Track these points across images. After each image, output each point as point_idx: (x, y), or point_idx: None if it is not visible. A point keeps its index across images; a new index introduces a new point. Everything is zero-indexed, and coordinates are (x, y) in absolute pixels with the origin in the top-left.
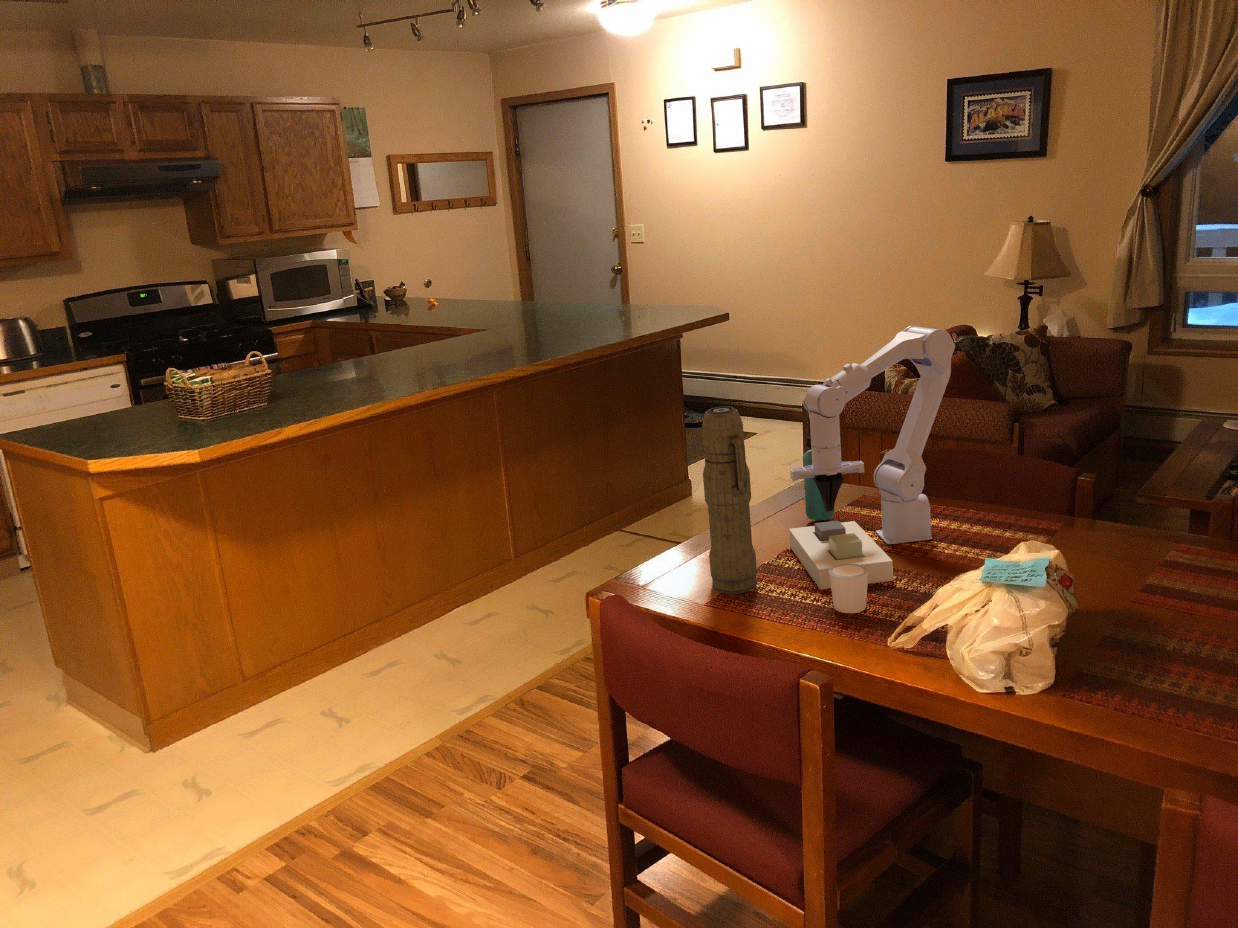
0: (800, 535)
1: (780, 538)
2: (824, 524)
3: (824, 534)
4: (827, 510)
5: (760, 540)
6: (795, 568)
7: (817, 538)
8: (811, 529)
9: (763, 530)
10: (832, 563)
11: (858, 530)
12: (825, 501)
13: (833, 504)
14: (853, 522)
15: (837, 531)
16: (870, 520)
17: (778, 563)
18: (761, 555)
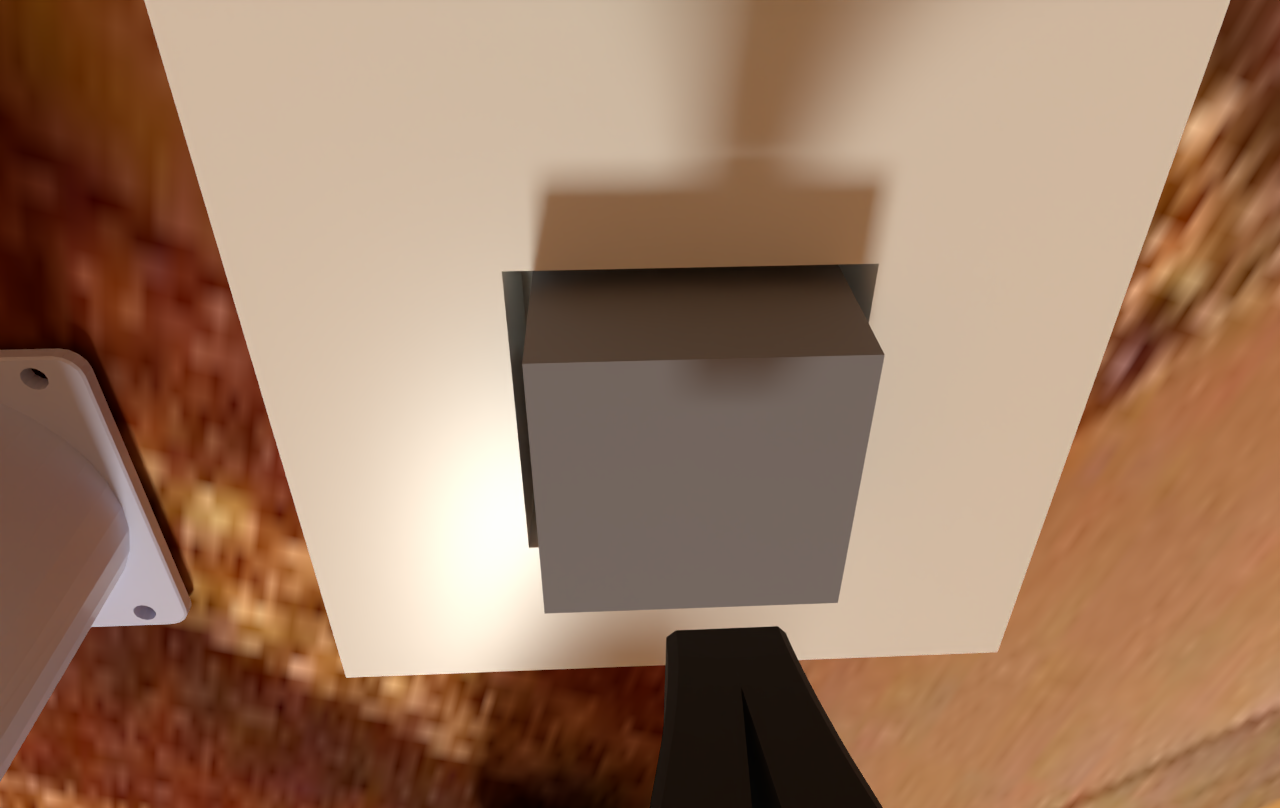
0: (990, 485)
1: (925, 666)
2: (745, 544)
3: (821, 327)
4: (784, 640)
5: (1068, 666)
6: None
7: None
8: None
9: (960, 786)
10: None
11: (336, 459)
12: (872, 791)
13: (691, 721)
14: (360, 651)
15: (640, 341)
16: (224, 788)
17: (1235, 204)
18: (1240, 421)
